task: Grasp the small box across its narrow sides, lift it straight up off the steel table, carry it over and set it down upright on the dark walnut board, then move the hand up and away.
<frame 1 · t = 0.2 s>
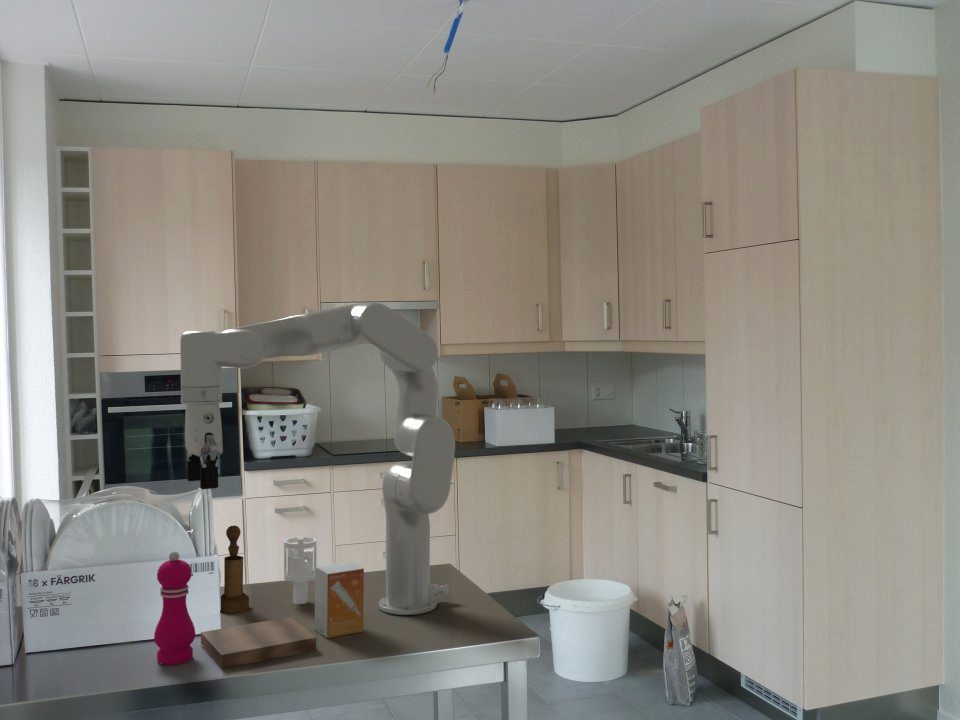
hand: (202, 484, 177), 31 cm above the table, tool pointing down, fingers open, 9 cm apart
white slotted cylindrical holder: (300, 602, 205), on the table
pepper mill: (175, 660, 170), on the table
walnut board: (258, 647, 176), on the table
small box: (339, 632, 186), on the table
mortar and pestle: (233, 609, 200), on the table
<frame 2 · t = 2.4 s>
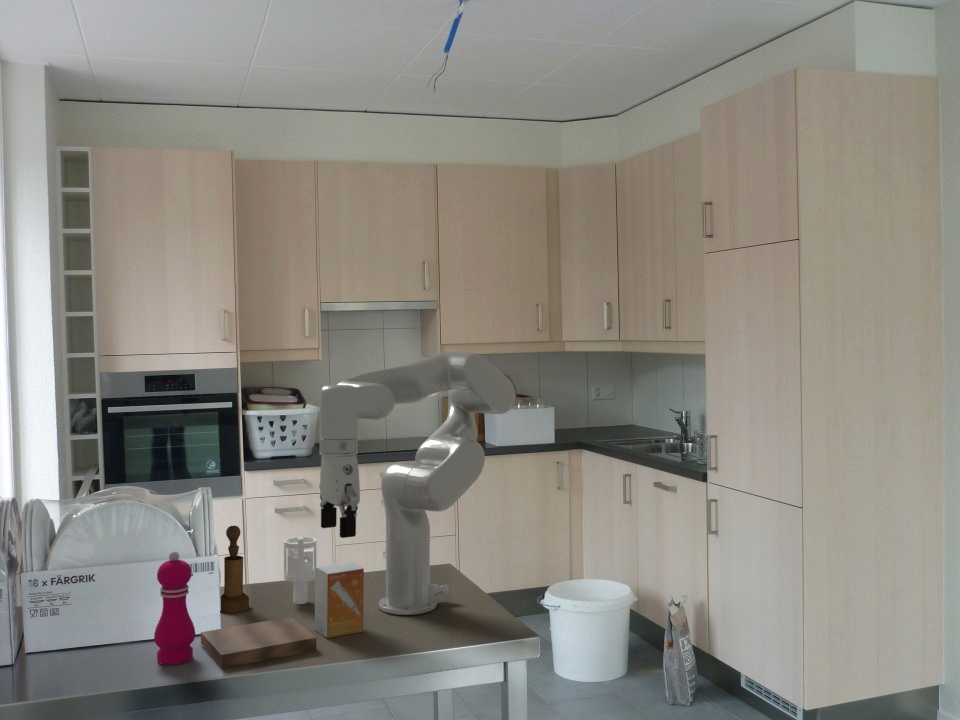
hand: (338, 532, 185), 20 cm above the table, tool pointing down, fingers open, 9 cm apart
nothing on the table moved.
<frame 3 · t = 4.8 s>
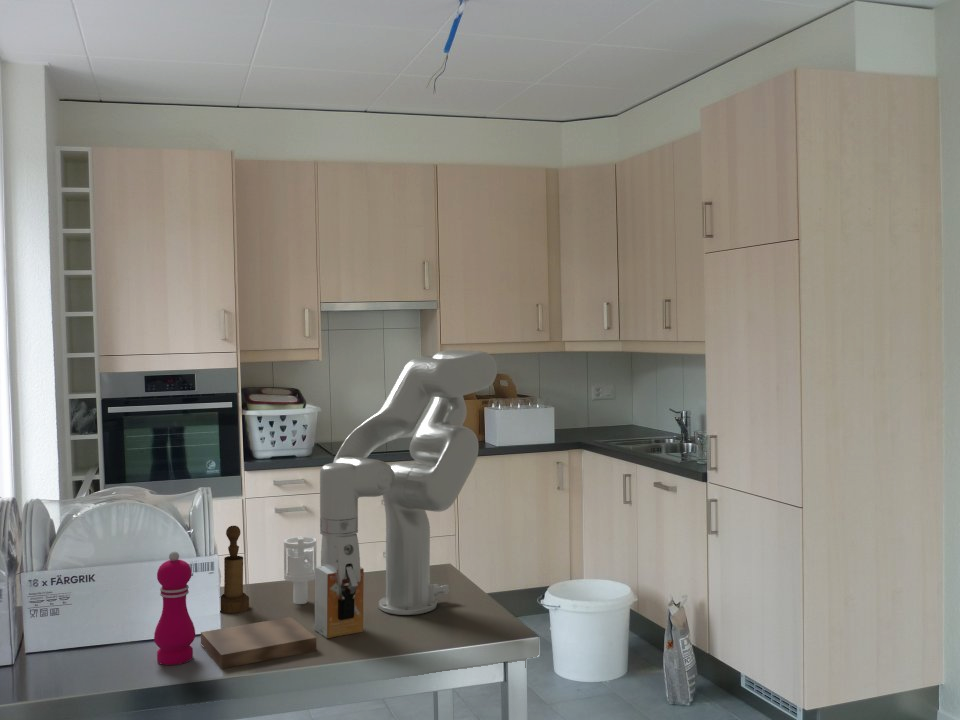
hand: (339, 612, 186), 4 cm above the table, tool pointing down, fingers closed on small box, 6 cm apart
small box: (339, 632, 186), on the table, touching gripper
everything else where it was.
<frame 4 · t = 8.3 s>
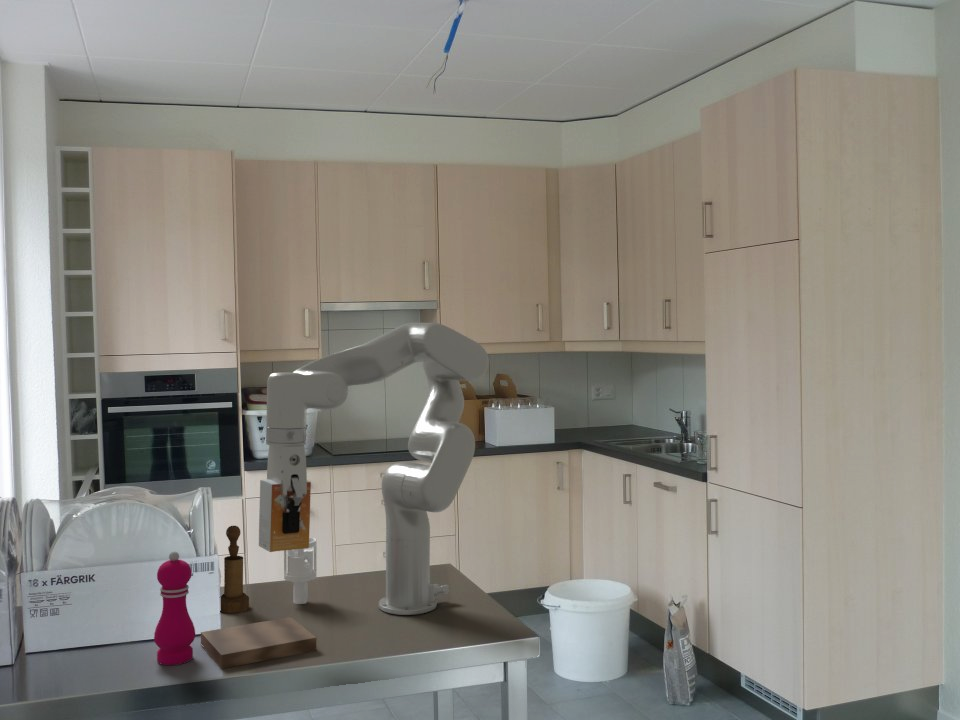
hand: (284, 528, 178), 22 cm above the table, tool pointing down, fingers closed on small box, 6 cm apart
small box: (283, 548, 178), point 18 cm above the table, touching gripper
everything else where it was.
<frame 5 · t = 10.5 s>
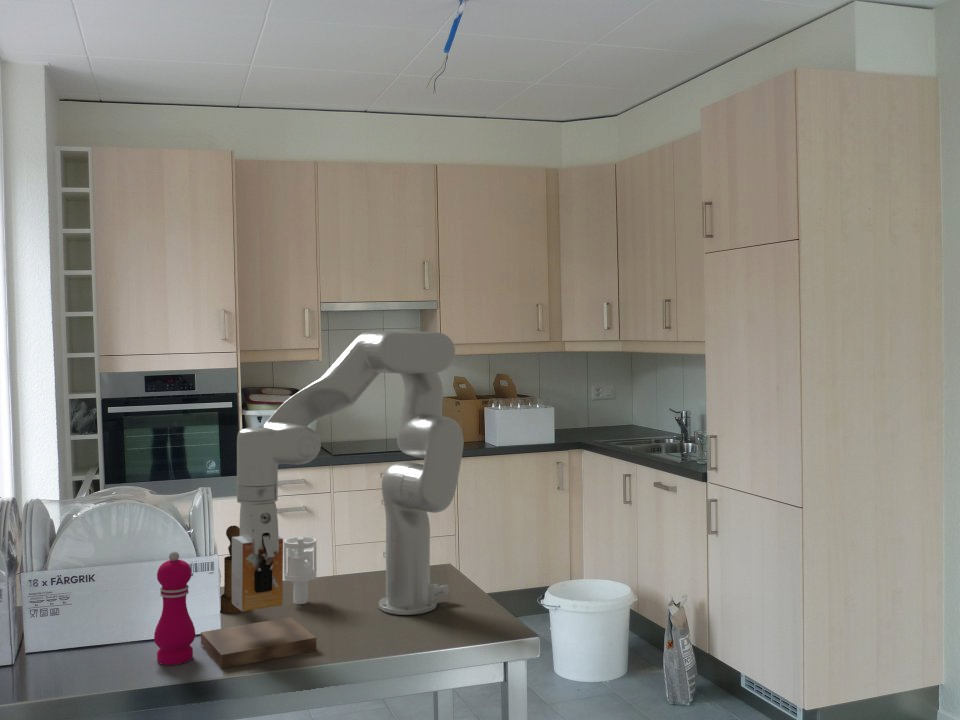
hand: (257, 585, 176), 12 cm above the table, tool pointing down, fingers closed on small box, 6 cm apart
small box: (257, 606, 176), point 8 cm above the table, touching gripper
everything else where it was.
when the fingers open (7 cm above the table, at t = 12.3 s): small box drops 1 cm, resting on walnut board.
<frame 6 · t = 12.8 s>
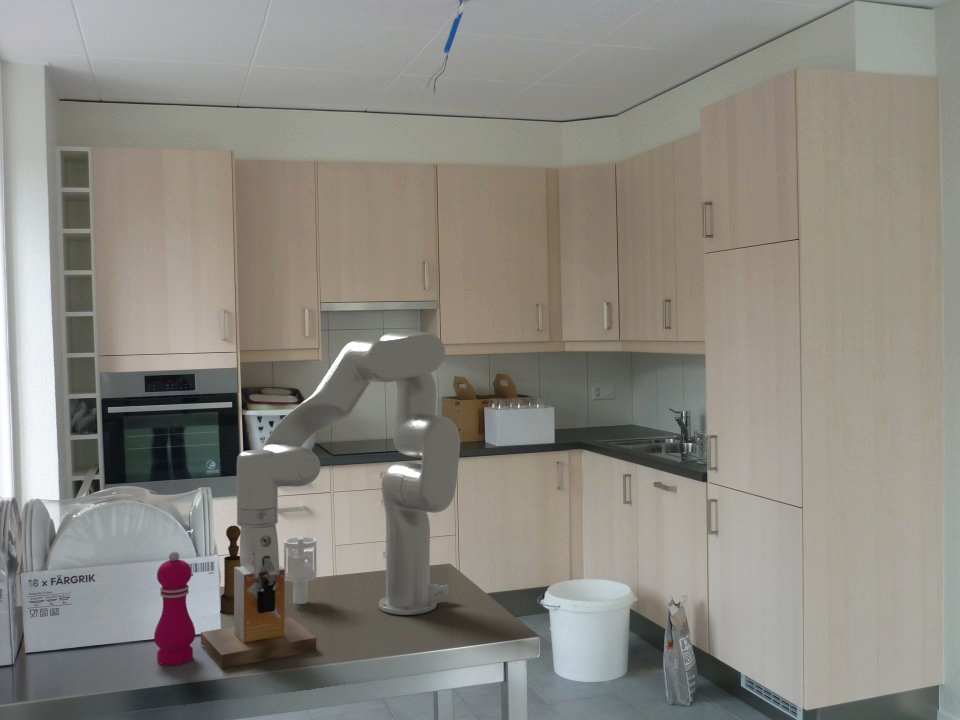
hand: (257, 604, 176), 8 cm above the table, tool pointing down, fingers open, 9 cm apart
small box: (259, 636, 176), point 2 cm above the table, touching walnut board
everything else where it was.
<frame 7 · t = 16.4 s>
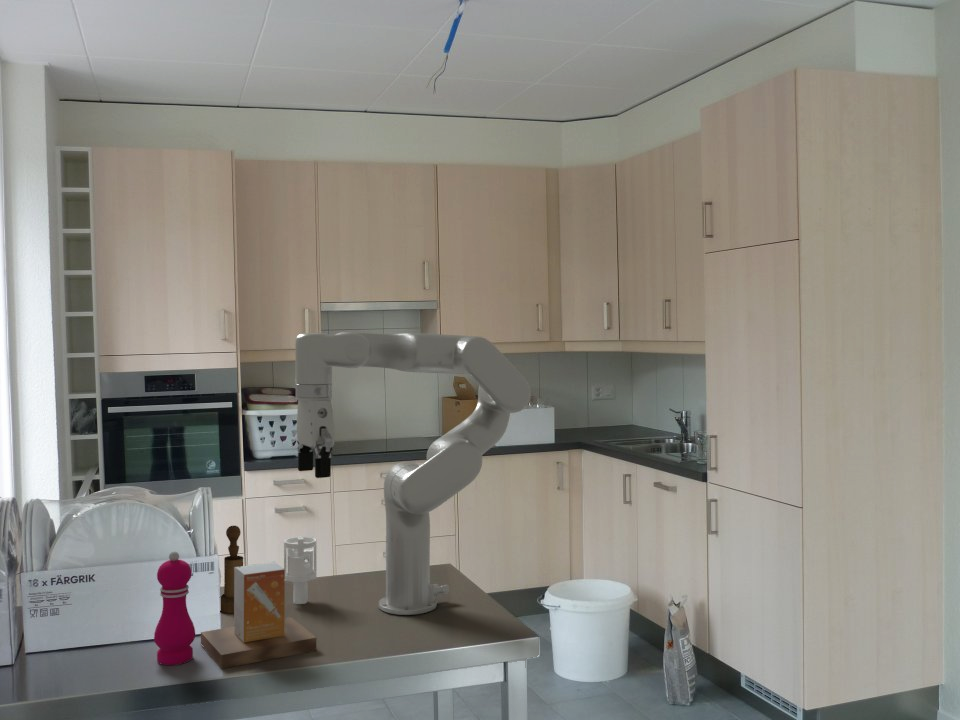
hand: (314, 473, 194), 30 cm above the table, tool pointing down, fingers open, 9 cm apart
nothing on the table moved.
at the end: small box inside the target area on the walnut board (0.4 cm from its centre), point 2.3 cm above the walnut board's base; small box tilted 0°; the gripper is holding nothing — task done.
